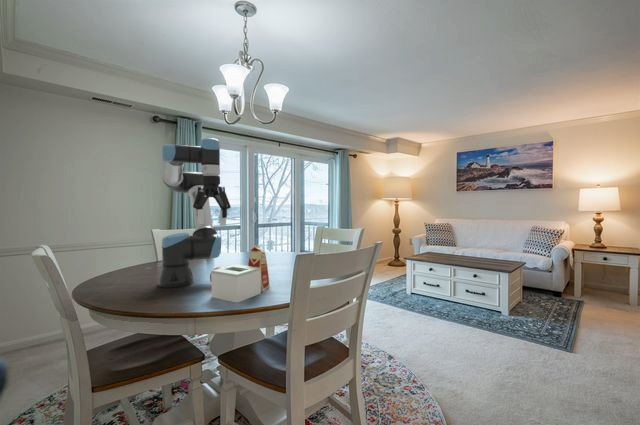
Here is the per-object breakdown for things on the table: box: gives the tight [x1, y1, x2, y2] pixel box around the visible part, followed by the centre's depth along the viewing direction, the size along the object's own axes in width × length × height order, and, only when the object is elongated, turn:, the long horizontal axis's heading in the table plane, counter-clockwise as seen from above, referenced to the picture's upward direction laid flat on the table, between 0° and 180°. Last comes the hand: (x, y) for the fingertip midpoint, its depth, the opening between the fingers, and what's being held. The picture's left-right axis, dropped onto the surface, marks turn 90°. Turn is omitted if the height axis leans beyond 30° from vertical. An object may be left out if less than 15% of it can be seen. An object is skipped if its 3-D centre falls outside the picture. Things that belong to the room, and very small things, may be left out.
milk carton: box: [247, 244, 271, 292], centre depth 149 cm, size 9×9×20 cm
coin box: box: [210, 263, 262, 303], centre depth 138 cm, size 14×14×11 cm
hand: (211, 225), depth 144 cm, fingers open, 13 cm apart
